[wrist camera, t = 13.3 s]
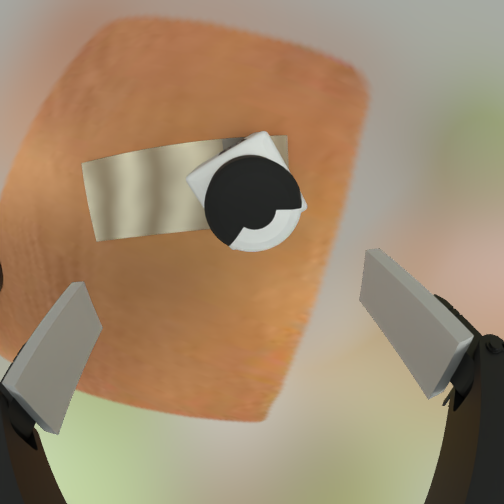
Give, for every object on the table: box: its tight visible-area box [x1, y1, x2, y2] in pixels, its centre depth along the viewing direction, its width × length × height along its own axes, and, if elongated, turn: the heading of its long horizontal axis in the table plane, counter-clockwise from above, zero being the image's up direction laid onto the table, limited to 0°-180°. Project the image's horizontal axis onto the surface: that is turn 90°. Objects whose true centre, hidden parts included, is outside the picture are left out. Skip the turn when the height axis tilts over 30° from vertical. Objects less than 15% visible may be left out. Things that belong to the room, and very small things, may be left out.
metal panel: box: [81, 135, 289, 241], centre depth 29 cm, size 24×10×1 cm, turn 93°
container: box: [186, 131, 307, 252], centre depth 23 cm, size 8×8×13 cm
